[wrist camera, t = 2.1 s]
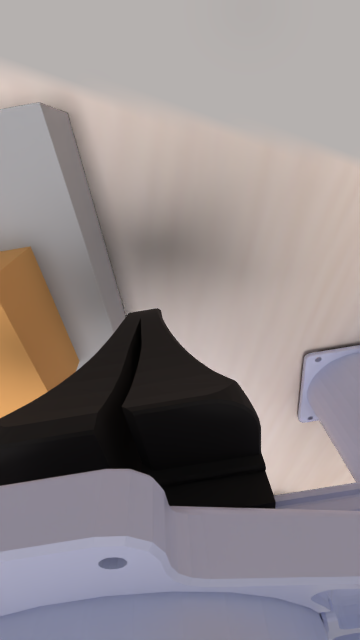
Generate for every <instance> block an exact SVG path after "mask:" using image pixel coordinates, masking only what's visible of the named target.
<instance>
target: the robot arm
mask: <svg viewBox="0 0 360 640" xmlns="http://www.w3.org/2000/svg"><path fill="white" fill-rule="evenodd" d="M317 357H318V358H317ZM316 358H317V359H316ZM298 419H299V421H300V422H311V421H317V420H319V421H320V422H321V424H322V426H323V427H324V429H325V431H326V432H327V434H328V436H329V438H330V439H331V441H332V443H333V444H334V446H335V448H336V449H337V451H338V453H339V454H340V456H341V458H342V459H343V461H344V463H345V464H346V466H347V468H348V469H349V471H350V473H351V474H352V476H353V478H354V479H355V481H356V483H351V484H344V485H338V486H332V487H325V488H319V489H313V490H306V491H300V492H294V493H287V494H281V495H275V496H274V495H273V492H272V489H271V486H270V484H269V481H268V478H267V475H266V472H265V470H266V466H265V462H264V459H263V457H262V454H261V426H260V421H259V418H258V416H257V413H256V411H255V409H254V408H253V406H252V404H251V402H250V401H249V399H248V397H247V396H246V394H245V393H244V391H243V390H242V389H241V387H240V386H239V385H238V383H237V382H236V381H234V380H232V379H230V378H227V377H225V376H223V375H221V374H219V373H216V372H214V371H213V370H211V369H209V368H208V367H206V366H205V365H204V364H202V363H201V362H199V361H198V360H197V359H195V358H194V357H193V356H192V355H191V354H189V353H188V352H187V351H186V350H185V349H184V348H183V347H182V346H181V345H180V343H179V342H178V341H177V340H176V339H175V338H174V336H173V335H172V334H171V332H170V331H169V329H168V328H167V326H166V324H165V323H164V320H163V318H162V314H161V310H159V309H158V308H157V309H151V310H145V311H139V312H133V313H129V314H128V315H127V316H126V317H125V319H124V320H123V321H122V323H121V324H120V325H119V327H118V328H117V329H116V331H115V332H114V333H113V335H112V336H111V337H110V338H109V339H108V341H107V342H106V343H105V344H104V345H103V346H102V347H101V348H100V349H99V351H98V352H97V353H96V354H95V355H94V356H93V357H92V358H91V359H90V360H89V361H87V362H86V363H85V364H84V365H83V366H82V367H81V368H79V369H78V370H77V371H76V372H74V373H73V374H72V375H71V376H69V377H68V378H67V379H65V380H64V381H63V382H61V383H60V384H59V385H57V386H56V387H54V388H53V389H51V390H50V391H48V392H47V393H45V394H43V395H42V396H40V397H39V398H37V399H35V400H34V401H32V402H30V403H28V404H26V405H25V406H23V407H21V408H19V409H17V410H15V411H13V412H11V413H10V414H8V415H6V416H4V417H2V418H0V640H360V345H357V346H351V347H345V348H339V349H333V350H326V351H320V352H314V353H309V354H307V355H306V356H305V357H304V362H303V372H302V382H301V392H300V402H299V411H298Z"/></svg>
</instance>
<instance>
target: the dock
mask: <svg viewBox="0 0 360 640" xmlns="http://www.w3.org/2000/svg"><path fill="white" fill-rule="evenodd" d="M30 246H31V249H32V251H33V253H34V256H35V258H36V260H37V263H38V265H39V267H40V270H41V272H42V274H43V277H44V279H45V282H46V284H47V286H48V289H49V291H50V293H51V296H52V298H53V300H54V303H55V305H56V307H57V310H58V312H59V314H60V317H61V319H62V321H63V324H64V326H65V328H66V331H67V333H68V336H69V338H70V340H71V343H72V345H73V347H74V350H75V352H76V354H77V357H78V359H79V364H78V367H77V370H78V369H79V368H81V367H82V366H83V365H84V364H85V363H86V362H87V361H89V360H90V359H91V358H92V357H93V356H94V355H95V354H96V353H97V352H98V351H99V349H100V348H101V347H102V346H103V345H104V344H105V343H106V342H107V341H108V339H109V338H110V337H111V336H112V335H113V333H114V332H115V331H116V329H117V328H118V327H119V325H120V324H121V323H122V321H123V320H124V319H125V317H126V315H125V312H124V308H123V305H122V302H121V298H120V295H119V291H118V288H117V284H116V281H115V277H114V274H113V270H112V267H111V263H110V260H109V256H108V253H107V249H106V246H105V242H104V239H103V235H102V232H101V228H100V225H99V221H98V218H97V214H96V211H95V207H94V204H93V200H92V197H91V193H90V190H89V186H88V183H87V179H86V176H85V172H84V169H83V165H82V162H81V159H80V155H79V152H78V148H77V145H76V141H75V138H74V134H73V131H72V127H71V124H70V120H69V117H68V113H66V112H64V111H61V110H58V109H56V108H53V107H51V106H48V105H45V104H43V103H40V102H38V103H32V104H27V105H21V106H15V107H10V108H4V109H0V251H6V250H12V249H18V248H24V247H30ZM77 370H76V371H77Z"/></svg>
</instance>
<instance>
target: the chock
mask: <svg viewBox="0 0 360 640" xmlns="http://www.w3.org/2000/svg"><path fill="white" fill-rule="evenodd" d="M78 364H79V359H78V357H77V354H76V352H75V350H74V347H73V345H72V343H71V340H70V338H69V336H68V333H67V331H66V328H65V326H64V324H63V321H62V319H61V317H60V314H59V312H58V310H57V307H56V305H55V303H54V300H53V298H52V296H51V293H50V291H49V289H48V286H47V284H46V282H45V279H44V277H43V274H42V272H41V270H40V267H39V265H38V263H37V260H36V258H35V256H34V253H33V251H32V249H31V246H30V247H24V248H18V249H12V250H6V251H0V418H2V417H4V416H6V415H8V414H10V413H11V412H13V411H15V410H17V409H19V408H21V407H23V406H25V405H26V404H28V403H30V402H32V401H34V400H35V399H37V398H39V397H40V396H42V395H43V394H45V393H47V392H48V391H50V390H51V389H53V388H54V387H56V386H57V385H59V384H60V383H61V382H63V381H64V380H65V379H67V378H68V377H69V376H71V375H72V374H73V373H74V372H76V370H77V367H78Z"/></svg>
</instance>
